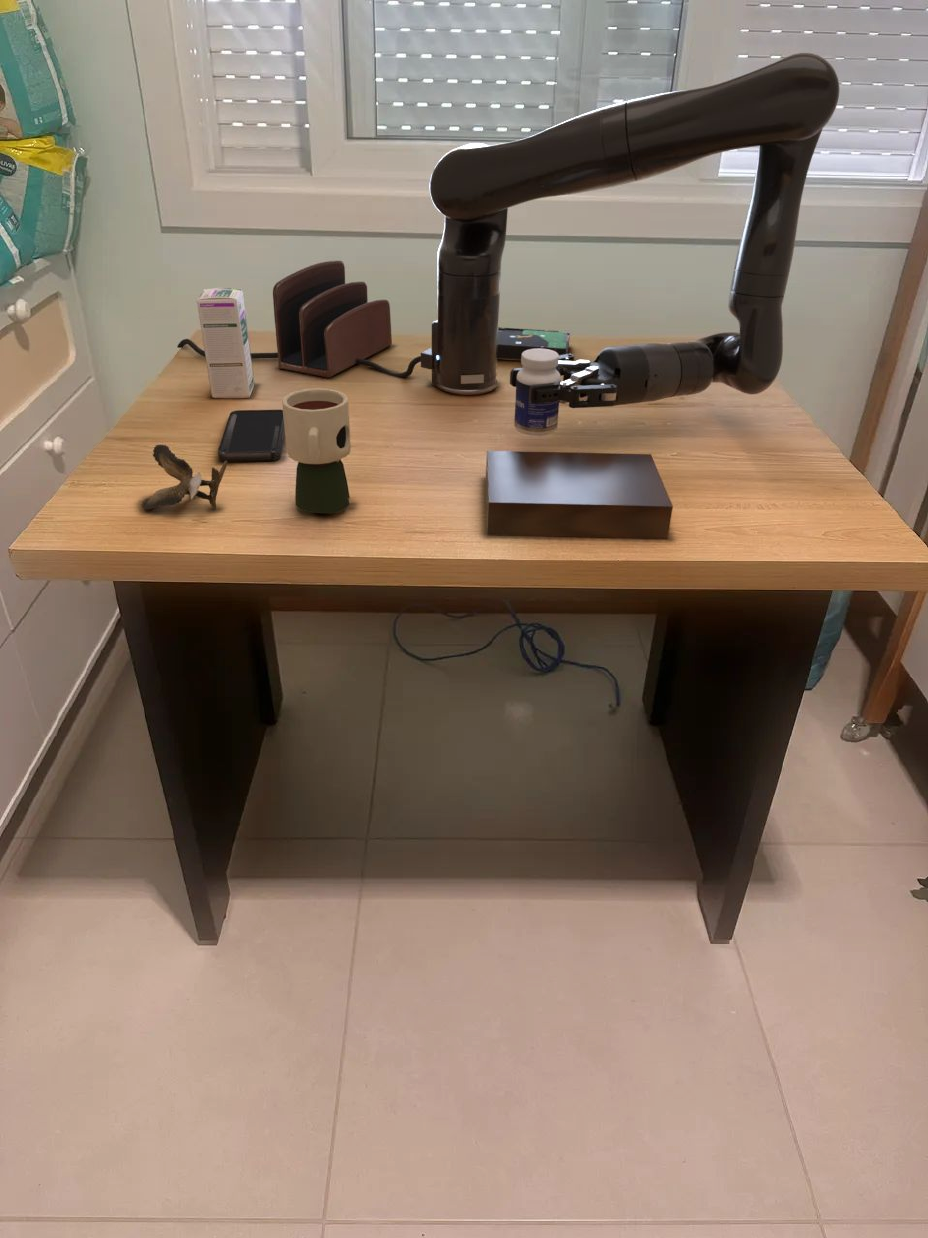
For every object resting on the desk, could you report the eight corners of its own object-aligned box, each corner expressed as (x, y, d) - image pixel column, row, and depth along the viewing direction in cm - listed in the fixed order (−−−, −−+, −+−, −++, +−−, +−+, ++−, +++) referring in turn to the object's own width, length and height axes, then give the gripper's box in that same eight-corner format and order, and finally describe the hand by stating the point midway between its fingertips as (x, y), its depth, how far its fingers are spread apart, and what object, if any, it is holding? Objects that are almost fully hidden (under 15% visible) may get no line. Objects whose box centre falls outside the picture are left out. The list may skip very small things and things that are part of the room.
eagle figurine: (232, 478, 106) (158, 461, 105) (224, 446, 99) (145, 427, 99) (212, 534, 103) (136, 516, 103) (203, 504, 96) (121, 484, 96)
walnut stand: (487, 534, 98) (488, 502, 96) (485, 480, 110) (486, 450, 107) (667, 538, 98) (673, 506, 96) (646, 484, 110) (651, 453, 107)
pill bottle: (511, 420, 119) (514, 346, 113) (553, 420, 119) (558, 346, 114) (516, 437, 114) (521, 361, 109) (560, 436, 115) (566, 360, 109)
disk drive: (478, 360, 149) (567, 364, 147) (479, 343, 147) (568, 347, 146) (485, 341, 157) (569, 345, 156) (485, 325, 156) (570, 329, 154)
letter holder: (277, 369, 142) (268, 277, 135) (344, 337, 157) (339, 253, 149) (330, 379, 139) (323, 286, 131) (393, 345, 154) (390, 260, 146)
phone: (216, 453, 112) (231, 410, 124) (218, 462, 112) (232, 417, 124) (280, 452, 112) (288, 409, 125) (281, 460, 113) (288, 416, 125)
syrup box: (250, 398, 131) (238, 297, 123) (210, 398, 131) (195, 297, 123) (255, 385, 136) (244, 287, 128) (216, 385, 136) (202, 287, 128)
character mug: (352, 529, 98) (345, 417, 91) (287, 530, 98) (276, 417, 91) (356, 486, 107) (350, 381, 100) (296, 486, 107) (286, 381, 100)
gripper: (615, 329, 121) (500, 340, 116) (669, 362, 110) (545, 375, 105) (609, 383, 125) (498, 395, 120) (660, 420, 114) (541, 435, 109)
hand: (520, 386), depth 113 cm, fingers closed on pill bottle, 5 cm apart
